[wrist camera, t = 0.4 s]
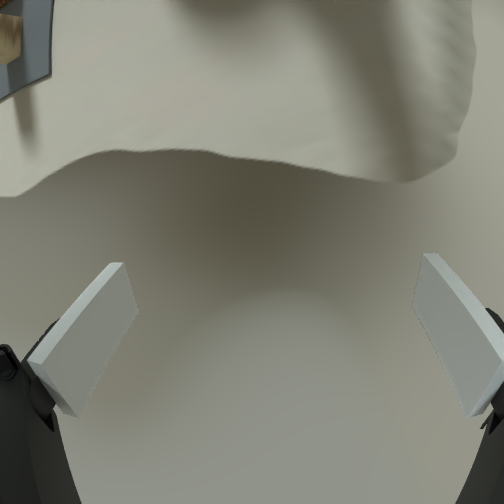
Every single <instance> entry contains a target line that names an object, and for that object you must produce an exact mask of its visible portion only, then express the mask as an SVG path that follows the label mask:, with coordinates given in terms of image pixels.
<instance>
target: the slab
mask: <svg viewBox="0 0 504 504" xmlns="http://www.w3.org/2000/svg"><path fill="white" fill-rule="evenodd" d="M22 22H23V17H18V16H12V15H6V14H0V64H8V63H10V62H11V61H13V60H14V59H16V58H18V57H19V56H21V35H22Z"/></svg>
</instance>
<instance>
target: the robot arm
mask: <svg viewBox="0 0 504 504" xmlns="http://www.w3.org/2000/svg"><path fill="white" fill-rule="evenodd" d="M412 307H413V309H414V311H415V313H416V315H417V317H418V319H419V320H420V322H421V324H422V326H423V328H424V330H425V332H426V333H427V335H428V337H429V339H430V341H431V343H432V345H433V347H434V349H435V351H436V353H437V355H438V357H439V359H440V361H441V363H442V366H443V368H444V370H445V372H446V374H447V376H448V378H449V380H450V383H451V385H452V387H453V389H454V392H455V394H456V396H457V398H458V401H459V403H460V406H461V408H462V410H463V413H464V415H465V418H466V419H467V418H470V417H473V416H476V415H479V414H482V413H483V412H484V411H485V409H486V408H487V407H488V405H489V404H490V402H491V404H492V406H493V408H494V409H493V411H492V413H491V414H490V415H489V416H488V418H487V419H486V420H485V422H484V423H483V424H482V426H481V428H480V429H483V428H484V427H485V425H486V424H487V426H486V430H485V433H484V436H483V439H482V442H481V444H480V447H479V450H478V453H477V455H476V458H475V461H474V463H473V466H472V468H471V471H470V473H469V475H468V478H467V480H466V482H465V485H464V487H463V489H462V491H461V493H460V495H459V497H458V499H457V501H456V504H504V322H503V321H502V319H501V318H500V317H499V316H498V315H497V314H496V313H495V312H493V311H492V310H490V309H489V308H484V307H483V306H482V304H481V303H480V302H479V301H478V300H477V298H476V297H475V296H474V294H473V293H472V292H471V291H470V290H469V288H468V287H467V286H466V285H465V284H464V282H463V281H462V280H461V279H460V278H459V277H458V275H457V274H456V273H455V272H454V271H453V270H452V269H451V267H450V266H449V265H448V264H447V263H446V262H445V261H444V260H443V259H442V257H441V256H440V255H439V254H438V253H423V254H422V259H421V264H420V270H419V275H418V279H417V284H416V290H415V293H414V298H413V302H412ZM138 313H139V311H138V308H137V305H136V302H135V299H134V296H133V292H132V289H131V286H130V282H129V279H128V275H127V272H126V268H125V265H124V263H110V264H109V265H108V266H107V267H106V268H105V269H104V270H103V271H102V272H101V273H100V274H99V275H98V277H97V278H96V279H95V280H94V281H93V282H92V283H91V284H90V285H89V286H88V287H87V288H86V289H85V291H84V292H83V293H82V294H81V295H80V296H79V297H78V298H77V300H76V301H75V302H74V303H73V304H72V305H71V306H70V308H69V309H68V310H67V311H66V312H65V314H64V315H63V316H62V317H61V318H60V319H58V320H57V321H55V322H54V323H52V324H51V325H50V327H49V328H48V329H47V330H46V331H45V334H43V335H42V336H41V338H40V339H39V341H37V342H36V344H35V345H34V346H33V348H32V349H31V350H30V351H29V352H28V354H27V355H26V356H25V357H24V359H23V360H22V362H21V363H20V362H19V360H18V359H17V357H16V355H15V354H14V352H13V350H12V349H11V347H10V346H9V345H7V344H2V345H0V504H81V501H80V498H79V495H78V492H77V490H76V487H75V484H74V481H73V478H72V474H71V471H70V468H69V464H68V461H67V458H66V454H65V450H64V446H63V442H62V438H61V434H60V430H59V425H58V420H57V416H56V414H55V412H54V410H53V408H54V406H55V404H57V406H58V407H59V408H60V409H61V411H62V412H63V413H64V414H67V415H70V416H73V417H77V418H79V416H80V415H81V413H82V411H83V409H84V407H85V405H86V403H87V401H88V400H89V398H90V396H91V394H92V392H93V390H94V388H95V387H96V385H97V383H98V381H99V379H100V378H101V376H102V374H103V372H104V370H105V369H106V367H107V365H108V363H109V361H110V360H111V358H112V356H113V355H114V353H115V351H116V349H117V348H118V346H119V344H120V343H121V341H122V339H123V337H124V336H125V334H126V332H127V330H128V329H129V327H130V325H131V324H132V322H133V321H134V319H135V317H136V316H137V314H138Z"/></svg>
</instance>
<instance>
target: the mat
mask: <svg viewBox="0 0 504 504" xmlns="http://www.w3.org/2000/svg"><path fill="white" fill-rule="evenodd" d="M53 3H54V0H13V1H12V2H10V3H9V4H8V5H6V6H5V7H4V8H2V9H1V10H0V14H6V15H12V16H18V17H23V22H22V35H21V56H19V57H18V58H16V59H14V60H13V61H11V62H10V63H8V64H0V100H1V99H2V98H4V97H6V96H8V95H9V94H11V93H13V92H15V91H17V90H19V89H20V88H22V87H24V86H26V85H28V84H30V83H32V82H34V81H36V80H38V79H40V78H43V77H45V76H47V75H49V74H51V31H52V14H53Z"/></svg>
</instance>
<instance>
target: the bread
mask: <svg viewBox="0 0 504 504" xmlns="http://www.w3.org/2000/svg"><path fill="white" fill-rule="evenodd" d="M8 1H10V0H0V8H1V7H2V6H3V5H5V4H6V3H7V2H8Z"/></svg>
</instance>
